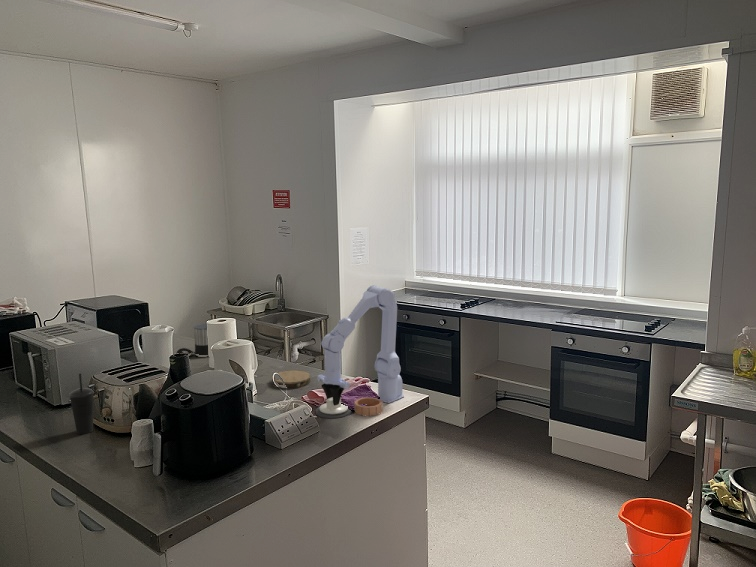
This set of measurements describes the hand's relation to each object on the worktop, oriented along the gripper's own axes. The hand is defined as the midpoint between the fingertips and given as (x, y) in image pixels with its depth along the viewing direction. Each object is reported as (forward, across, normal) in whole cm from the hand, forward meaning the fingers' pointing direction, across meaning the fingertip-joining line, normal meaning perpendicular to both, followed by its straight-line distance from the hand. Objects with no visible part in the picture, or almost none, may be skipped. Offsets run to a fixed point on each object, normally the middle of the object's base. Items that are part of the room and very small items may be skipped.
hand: (333, 403), depth 210 cm
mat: (+3, 0, 0) cm, 3 cm away
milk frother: (+3, -103, +6) cm, 103 cm away
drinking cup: (+3, -50, -67) cm, 84 cm away
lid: (+2, 0, 0) cm, 2 cm away
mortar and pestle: (+3, -34, -17) cm, 38 cm away
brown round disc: (+4, -37, +11) cm, 39 cm away
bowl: (+3, +9, +9) cm, 13 cm away
